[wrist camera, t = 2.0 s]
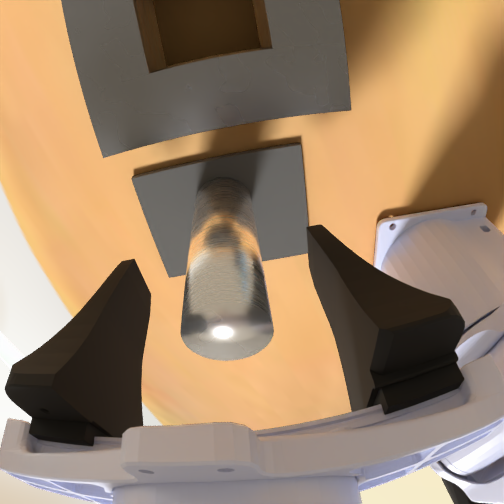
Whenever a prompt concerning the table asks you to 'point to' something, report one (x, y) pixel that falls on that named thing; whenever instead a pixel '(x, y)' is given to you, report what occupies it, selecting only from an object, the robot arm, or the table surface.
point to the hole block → (203, 71)
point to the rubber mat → (261, 191)
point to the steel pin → (225, 276)
